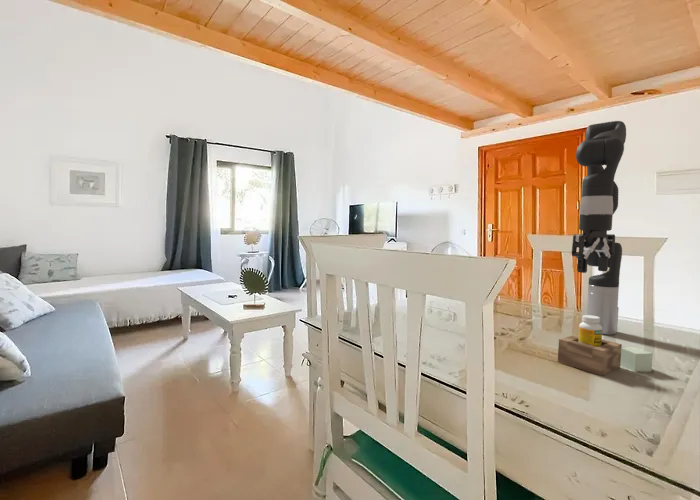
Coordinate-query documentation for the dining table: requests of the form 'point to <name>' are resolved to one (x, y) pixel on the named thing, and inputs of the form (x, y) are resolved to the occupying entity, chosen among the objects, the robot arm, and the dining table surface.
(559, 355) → the brown open box
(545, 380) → the dining table surface
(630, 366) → the green cube
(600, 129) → the robot arm
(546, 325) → the dining table surface
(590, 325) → the supplement bottle
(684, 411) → the dining table surface
